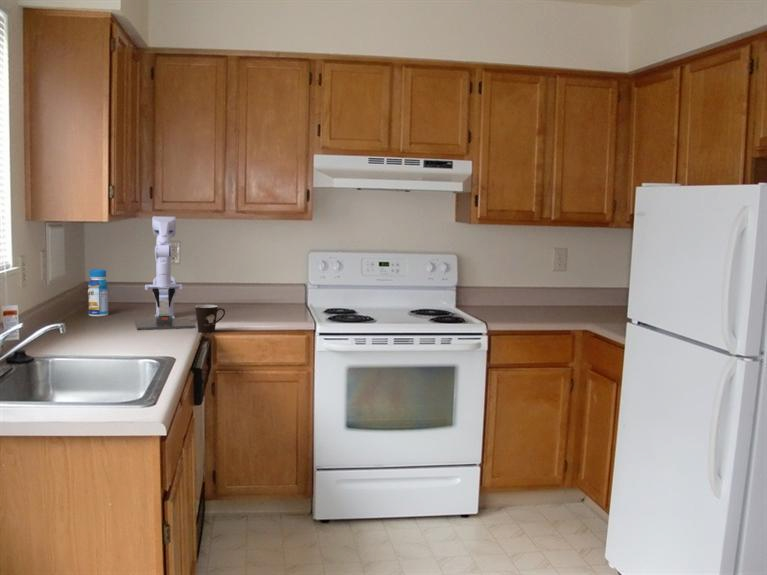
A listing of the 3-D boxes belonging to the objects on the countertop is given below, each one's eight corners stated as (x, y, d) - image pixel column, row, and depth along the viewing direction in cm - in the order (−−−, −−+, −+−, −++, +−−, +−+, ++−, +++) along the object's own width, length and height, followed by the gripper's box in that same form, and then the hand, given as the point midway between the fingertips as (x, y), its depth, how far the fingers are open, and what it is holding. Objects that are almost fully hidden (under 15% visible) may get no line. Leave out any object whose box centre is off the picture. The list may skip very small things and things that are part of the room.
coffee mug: (195, 333, 288) (195, 307, 287) (195, 329, 296) (194, 304, 295) (226, 332, 291) (226, 307, 290) (224, 329, 299) (224, 304, 298)
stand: (134, 321, 313) (134, 313, 312) (188, 320, 321) (188, 311, 320) (137, 330, 292) (137, 321, 292) (194, 328, 300) (194, 319, 300)
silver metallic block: (158, 314, 307) (158, 299, 306) (168, 314, 308) (168, 299, 308) (159, 316, 304) (159, 300, 303) (169, 315, 305) (168, 300, 304)
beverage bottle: (109, 316, 326) (109, 270, 324) (89, 317, 322) (88, 270, 320) (107, 313, 334) (107, 268, 331) (87, 314, 330) (86, 269, 328)
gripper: (145, 275, 298) (145, 308, 299) (182, 274, 303) (183, 307, 304) (144, 273, 304) (144, 306, 306) (181, 273, 310) (181, 305, 311)
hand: (163, 307), depth 306 cm, fingers closed on silver metallic block, 3 cm apart
